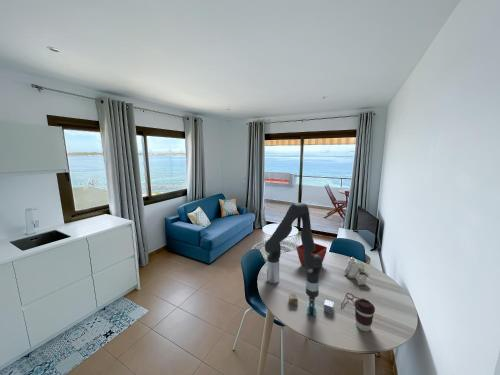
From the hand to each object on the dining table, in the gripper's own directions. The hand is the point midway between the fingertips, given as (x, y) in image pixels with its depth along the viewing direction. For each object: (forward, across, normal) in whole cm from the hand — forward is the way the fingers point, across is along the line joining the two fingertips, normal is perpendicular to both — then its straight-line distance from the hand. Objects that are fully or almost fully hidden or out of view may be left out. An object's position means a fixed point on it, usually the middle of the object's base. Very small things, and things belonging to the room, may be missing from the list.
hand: (311, 311), depth 126 cm
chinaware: (+1, -49, +31) cm, 58 cm away
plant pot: (+1, -56, -3) cm, 56 cm away
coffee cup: (+1, +2, +28) cm, 28 cm away
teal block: (0, 0, 0) cm, 0 cm away
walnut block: (+1, -5, -12) cm, 13 cm away
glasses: (+1, -12, +26) cm, 28 cm away
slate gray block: (+1, -5, +10) cm, 11 cm away
